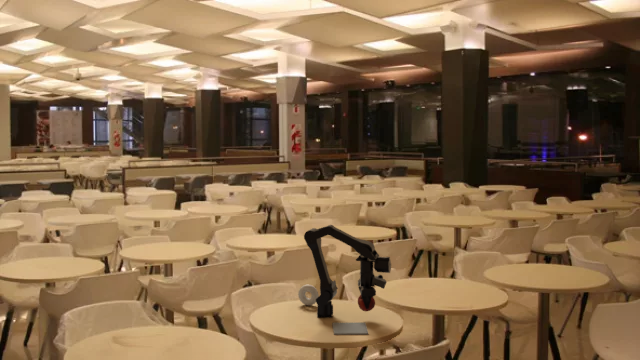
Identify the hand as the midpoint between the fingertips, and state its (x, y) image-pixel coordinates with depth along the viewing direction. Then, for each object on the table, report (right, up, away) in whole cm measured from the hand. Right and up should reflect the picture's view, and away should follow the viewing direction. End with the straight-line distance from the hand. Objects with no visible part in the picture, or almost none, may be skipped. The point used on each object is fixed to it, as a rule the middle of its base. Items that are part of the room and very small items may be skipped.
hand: (366, 306), depth 298 cm
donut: (-26, -4, +22) cm, 34 cm away
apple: (0, -2, 0) cm, 2 cm away
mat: (-8, -7, -13) cm, 16 cm away
